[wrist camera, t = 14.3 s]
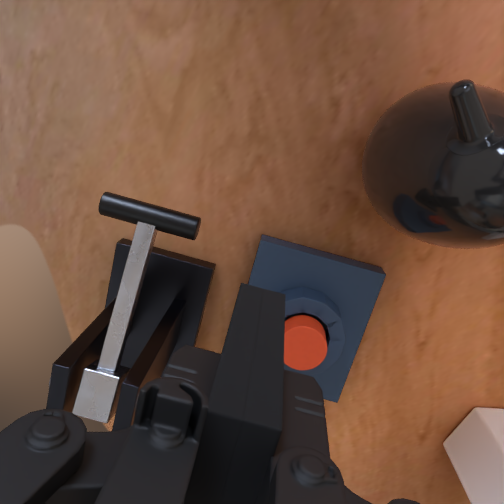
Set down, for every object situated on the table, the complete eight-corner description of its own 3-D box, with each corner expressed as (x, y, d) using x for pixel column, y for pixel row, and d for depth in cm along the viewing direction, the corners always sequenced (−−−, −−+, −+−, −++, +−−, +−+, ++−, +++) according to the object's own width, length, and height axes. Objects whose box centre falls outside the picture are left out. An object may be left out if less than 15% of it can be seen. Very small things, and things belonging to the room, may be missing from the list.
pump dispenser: (454, 53, 32) (595, 0, 17) (518, 179, 34) (692, 227, 19) (327, 135, 34) (357, 150, 19) (394, 249, 36) (467, 338, 21)
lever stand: (122, 237, 37) (33, 304, 24) (215, 263, 37) (177, 343, 24) (101, 351, 41) (12, 464, 27) (187, 375, 41) (139, 499, 27)
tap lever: (112, 194, 29) (100, 188, 26) (203, 219, 29) (199, 216, 26) (56, 392, 29) (39, 405, 26) (147, 417, 29) (138, 432, 26)
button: (285, 308, 34) (285, 320, 32) (331, 321, 34) (334, 334, 32) (272, 349, 35) (271, 363, 33) (317, 361, 35) (318, 376, 33)
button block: (262, 234, 36) (259, 247, 33) (381, 267, 36) (392, 284, 33) (226, 360, 40) (219, 386, 36) (335, 390, 40) (340, 419, 36)
